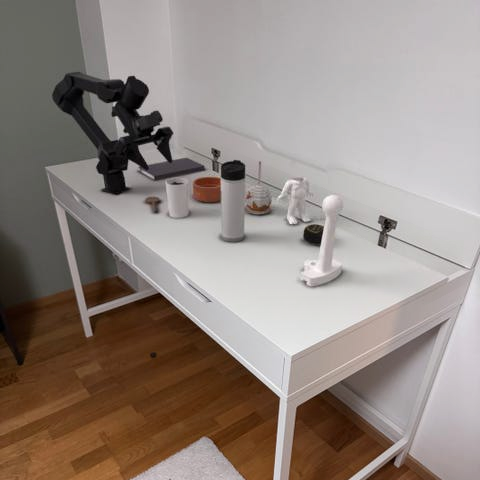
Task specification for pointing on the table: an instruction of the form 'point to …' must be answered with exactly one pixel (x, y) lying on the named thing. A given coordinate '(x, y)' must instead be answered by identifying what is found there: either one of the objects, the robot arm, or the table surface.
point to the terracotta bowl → (207, 189)
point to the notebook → (171, 168)
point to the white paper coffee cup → (177, 197)
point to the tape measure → (313, 233)
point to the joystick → (325, 248)
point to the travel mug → (232, 200)
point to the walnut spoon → (153, 202)
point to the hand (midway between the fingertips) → (160, 166)
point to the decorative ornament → (258, 198)
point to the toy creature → (296, 198)
